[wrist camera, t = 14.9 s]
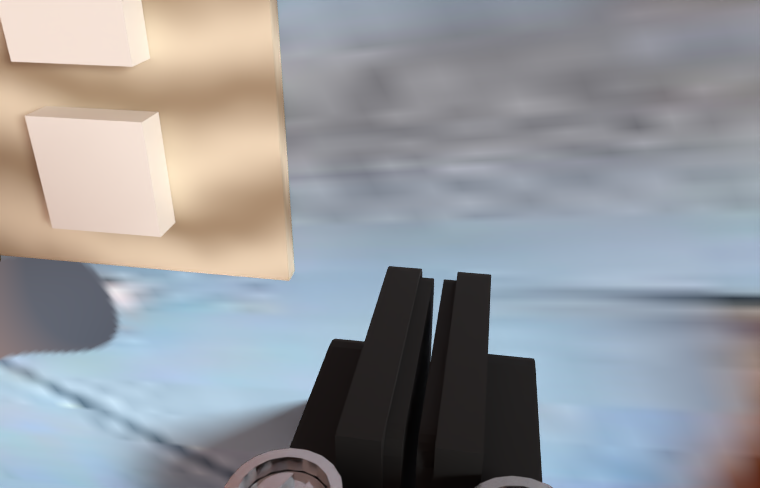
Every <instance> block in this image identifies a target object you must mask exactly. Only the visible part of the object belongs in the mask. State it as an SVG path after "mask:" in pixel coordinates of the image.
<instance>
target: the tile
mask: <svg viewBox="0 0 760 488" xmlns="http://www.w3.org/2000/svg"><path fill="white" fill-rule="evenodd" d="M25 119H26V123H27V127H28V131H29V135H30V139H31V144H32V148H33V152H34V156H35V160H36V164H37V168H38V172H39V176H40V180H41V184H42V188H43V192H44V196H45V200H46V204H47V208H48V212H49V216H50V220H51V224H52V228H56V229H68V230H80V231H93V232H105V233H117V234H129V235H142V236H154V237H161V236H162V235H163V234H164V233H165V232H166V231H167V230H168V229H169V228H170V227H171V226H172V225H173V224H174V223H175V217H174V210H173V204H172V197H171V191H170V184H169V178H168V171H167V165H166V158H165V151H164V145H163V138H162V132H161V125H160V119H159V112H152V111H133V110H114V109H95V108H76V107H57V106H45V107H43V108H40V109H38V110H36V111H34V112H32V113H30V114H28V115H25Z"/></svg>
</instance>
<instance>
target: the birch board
mask: <svg viewBox="0 0 760 488" xmlns="http://www.w3.org/2000/svg"><path fill="white" fill-rule="evenodd" d="M141 1H142V8H143V14H144V21H145V28H146V34H147V41H148V47H149V54H150V59H148V60H146V61H144V62H142V63H140V64H138V65H135V66H133V67H125V66H102V65H79V64H56V63H32V62H11V59H10V55H9V51H8V47H7V43H6V39H5V35H4V31H3V26H2V22H1V18H0V255H5V256H16V257H28V258H39V259H50V260H62V261H73V262H84V263H95V264H107V265H118V266H129V267H140V268H152V269H163V270H174V271H185V272H197V273H208V274H219V275H231V276H242V277H253V278H264V279H276V280H287V281H289V280H290V279H291V277H292V275H293V273H294V271H295V270H294V255H293V239H292V224H291V209H290V193H289V178H288V162H287V147H286V132H285V116H284V101H283V86H282V70H281V55H280V40H279V24H278V9H277V0H141ZM45 106H57V107H76V108H95V109H114V110H133V111H152V112H159V119H160V125H161V132H162V138H163V145H164V151H165V158H166V165H167V171H168V178H169V184H170V191H171V197H172V204H173V210H174V217H175V223H174V224H173V225H172V226H171V227H170V228H169V229H168V230H167V231H166V232H165V233H164V234H163V235H162V236H161V237H154V236H142V235H129V234H117V233H105V232H93V231H80V230H68V229H56V228H52V224H51V220H50V216H49V212H48V208H47V204H46V200H45V196H44V192H43V188H42V184H41V180H40V176H39V172H38V168H37V164H36V160H35V156H34V152H33V148H32V144H31V139H30V135H29V131H28V127H27V123H26V119H25V115H28V114H30V113H32V112H34V111H36V110H38V109H40V108H43V107H45Z"/></svg>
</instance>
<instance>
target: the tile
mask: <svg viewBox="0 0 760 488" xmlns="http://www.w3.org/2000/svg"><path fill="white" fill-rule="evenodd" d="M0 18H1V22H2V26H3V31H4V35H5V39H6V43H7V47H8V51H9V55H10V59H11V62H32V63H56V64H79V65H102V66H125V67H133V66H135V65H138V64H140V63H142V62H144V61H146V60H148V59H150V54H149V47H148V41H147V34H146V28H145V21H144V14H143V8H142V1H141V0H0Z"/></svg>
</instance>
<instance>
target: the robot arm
mask: <svg viewBox="0 0 760 488" xmlns="http://www.w3.org/2000/svg"><path fill="white" fill-rule="evenodd" d="M490 289H491V275H489V274H477V273H465V272H458V274H457V281H456V280H444V282H443V289H442V295H441V301H440V307H439V313H438V319H437V325H436V332H435V338H434V344H433V350H432V356H431V339H432V317H433V295H434V279H433V278H422V269H417V268H405V267H393V266H389V267H388V269H387V272H386V275H385V279H384V282H383V285H382V288H381V291H380V294H379V298H378V301H377V304H376V307H375V310H374V313H373V317H372V320H371V323H370V326H369V329H368V332H367V336H366V339H365V342H363V341H353V340H343V339H334V340H332V342H331V344H330V346H329V348H328V351H327V353H326V356H325V359H324V361H323V364H322V366H321V369H320V371H319V374H318V376H317V379H316V382H315V384H314V387H313V389H312V392H311V394H310V397H309V400H308V402H307V405H306V407H305V410H304V412H303V415H302V417H301V420H300V423H299V425H298V428H297V430H296V433H295V435H294V438H293V441H292V443H291V446H290V448H286V449H277V450H272V451H269V452H266V453H263V454H260V455H257V456H255V457H254V458H252V459H251V460H249V461H247V462H246V463H244V464H243V465H241V467H240V468H239V469H238V470H237V471H236V472H235V473H234V474H233V475H232V476H231V477H230V479H229V480H228V482H227V483H226V485H225V486H224V488H553V487H551V486H550V485H548V484H545V483H542V470H541V453H540V436H539V419H538V402H537V385H536V368H535V360H534V359H532V358H522V357H512V356H502V355H493V354H488V337H489V313H490ZM430 361H431V362H430Z"/></svg>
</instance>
